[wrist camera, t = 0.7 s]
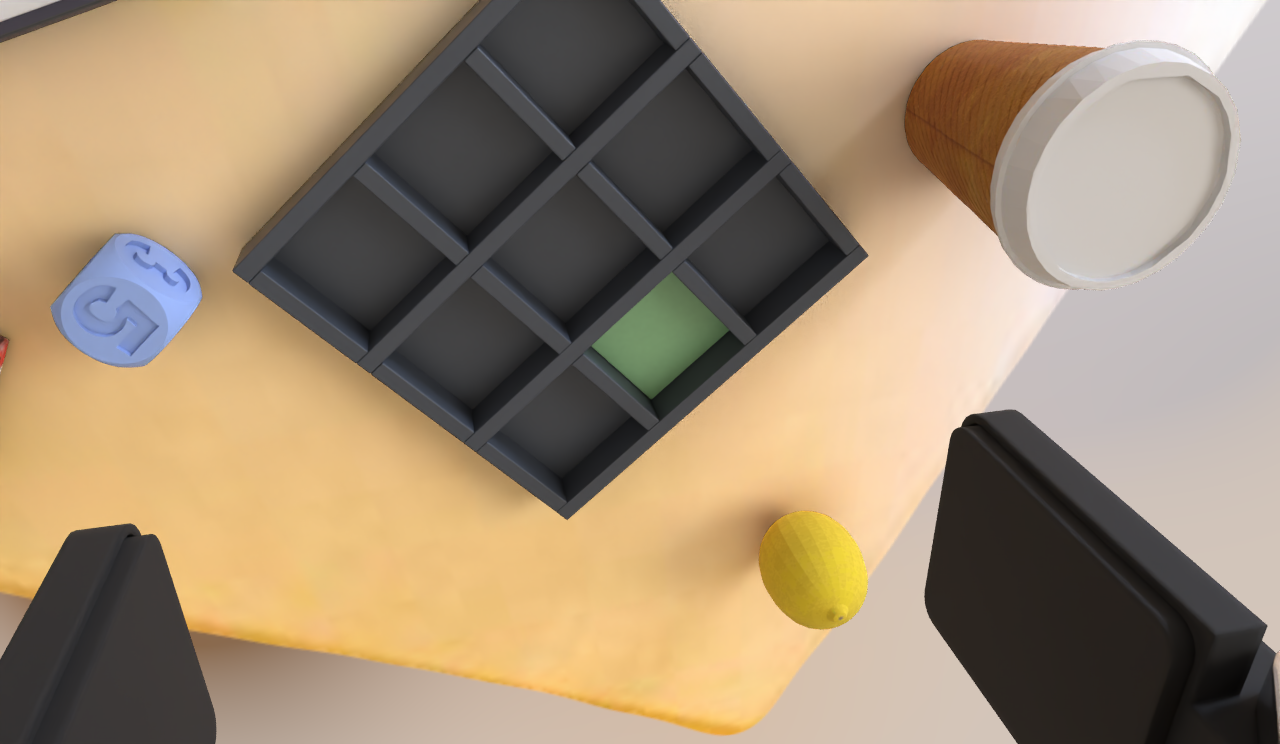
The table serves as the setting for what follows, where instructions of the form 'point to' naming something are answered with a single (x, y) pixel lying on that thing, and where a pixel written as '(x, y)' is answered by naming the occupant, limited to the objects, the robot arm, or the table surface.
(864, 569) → the lemon
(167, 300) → the decorative dice
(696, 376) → the grid tray
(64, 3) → the calculator
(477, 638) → the table surface
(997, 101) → the disposable coffee cup
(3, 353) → the snack box
